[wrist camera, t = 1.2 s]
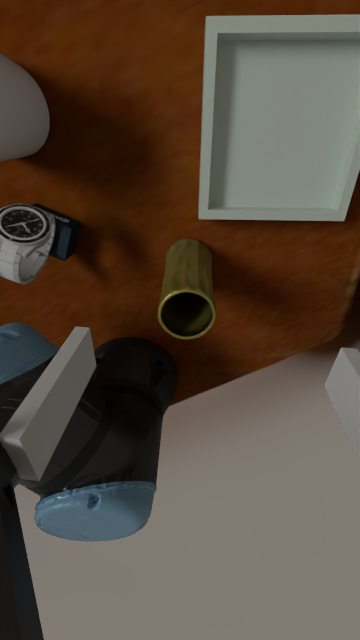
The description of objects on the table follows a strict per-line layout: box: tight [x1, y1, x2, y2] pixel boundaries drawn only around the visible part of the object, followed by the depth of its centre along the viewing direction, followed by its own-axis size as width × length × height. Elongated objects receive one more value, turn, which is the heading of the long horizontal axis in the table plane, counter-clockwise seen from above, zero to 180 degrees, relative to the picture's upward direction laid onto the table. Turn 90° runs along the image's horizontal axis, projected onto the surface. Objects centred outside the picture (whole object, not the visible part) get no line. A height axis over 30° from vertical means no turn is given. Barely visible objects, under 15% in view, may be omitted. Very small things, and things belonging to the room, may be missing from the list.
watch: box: [0, 203, 81, 285], centre depth 31 cm, size 6×8×11 cm
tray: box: [198, 15, 360, 221], centre depth 28 cm, size 16×16×3 cm
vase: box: [158, 239, 216, 339], centre depth 31 cm, size 6×6×14 cm
